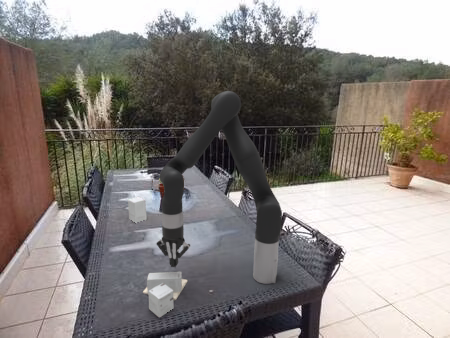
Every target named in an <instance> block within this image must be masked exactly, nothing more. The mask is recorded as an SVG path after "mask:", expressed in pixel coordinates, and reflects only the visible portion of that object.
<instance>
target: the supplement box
mask: <svg viewBox="0 0 450 338" xmlns="http://www.w3.org/2000/svg"><path fill="white" fill-rule="evenodd" d="M146 201H147V200H146V199H145V198H142V197H140V196H137V197H136V196H135V197H133V198H130V199H127V209H128V220H129V219H130V220H132V221H133V222H132V221H131V222H132V223H134V222H135V223H136V224H138V223H137V222H139V223H141V222H140V221H142V222H144V221H143V220H145V221H147V220H148V219H147V202H146ZM130 220H129V221H130ZM135 223H134V224H135Z"/></svg>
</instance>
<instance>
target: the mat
mask: <svg viewBox="0 0 450 338" xmlns="http://www.w3.org/2000/svg"><path fill="white" fill-rule="evenodd" d="M188 282H189V281H188V279H184V278H182V287H181V292H173V301H176V300H177V299H178V298H179V296H180V294H181V293H182V291H183V289H184V287H185V286H186V284H187V283H188ZM142 293H143V294H145V295H148V290H147V286H146V287H145V289H144V290H143V291H142Z"/></svg>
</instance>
